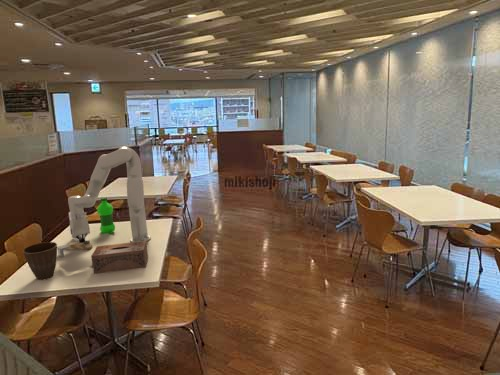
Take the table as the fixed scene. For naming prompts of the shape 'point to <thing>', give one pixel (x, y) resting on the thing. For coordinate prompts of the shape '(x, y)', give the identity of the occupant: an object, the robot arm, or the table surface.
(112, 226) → the plastic bottle
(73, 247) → the link
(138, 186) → the robot arm
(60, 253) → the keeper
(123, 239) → the table surface
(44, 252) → the plant pot
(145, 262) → the tissue box cover
